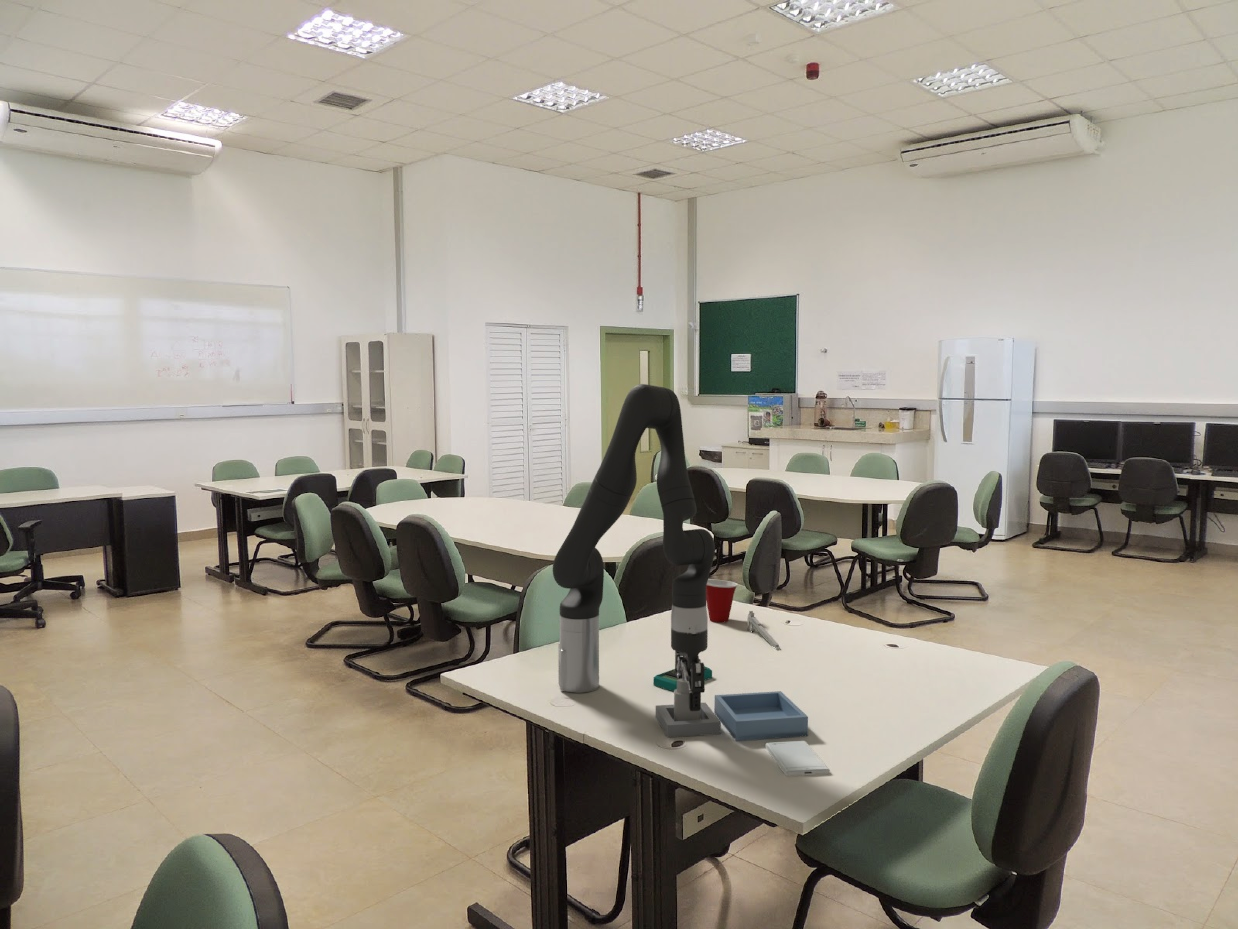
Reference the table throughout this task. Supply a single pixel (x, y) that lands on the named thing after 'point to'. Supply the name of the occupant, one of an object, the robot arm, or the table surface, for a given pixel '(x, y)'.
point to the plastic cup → (719, 599)
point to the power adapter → (684, 702)
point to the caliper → (760, 629)
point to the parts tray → (760, 716)
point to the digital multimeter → (674, 679)
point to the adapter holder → (687, 722)
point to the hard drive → (796, 758)
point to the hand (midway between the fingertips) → (689, 703)
